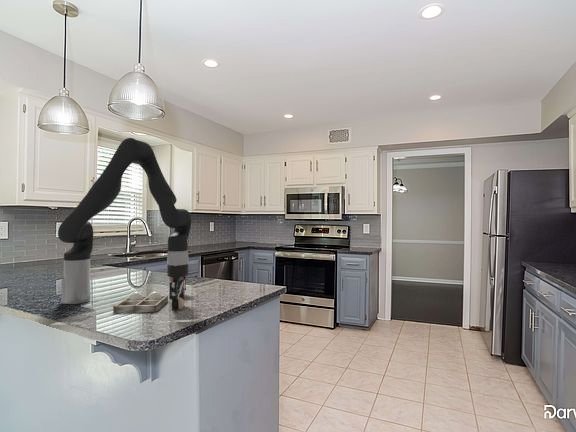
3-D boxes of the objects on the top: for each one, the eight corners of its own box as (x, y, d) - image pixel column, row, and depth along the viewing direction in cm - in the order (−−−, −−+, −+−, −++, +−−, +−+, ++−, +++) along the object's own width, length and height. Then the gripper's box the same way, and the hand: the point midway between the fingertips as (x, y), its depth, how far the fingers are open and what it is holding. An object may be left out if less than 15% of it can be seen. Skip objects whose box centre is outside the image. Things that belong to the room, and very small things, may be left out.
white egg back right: (146, 305, 129) (146, 293, 129) (150, 302, 134) (150, 290, 134) (159, 305, 129) (159, 292, 129) (163, 302, 134) (162, 289, 134)
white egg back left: (127, 306, 128) (127, 293, 128) (132, 302, 133) (132, 290, 133) (140, 305, 129) (140, 293, 129) (144, 302, 133) (144, 290, 133)
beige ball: (169, 312, 123) (169, 299, 123) (173, 308, 127) (173, 296, 127) (183, 312, 123) (183, 298, 123) (186, 308, 128) (186, 295, 128)
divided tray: (113, 314, 120) (113, 306, 120) (129, 303, 135) (129, 296, 134) (156, 313, 121) (156, 305, 121) (167, 303, 136) (167, 295, 136)
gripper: (172, 260, 132) (172, 302, 132) (161, 266, 118) (162, 312, 118) (192, 260, 132) (192, 301, 133) (183, 265, 118) (184, 312, 118)
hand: (178, 306), depth 125 cm, fingers open, 8 cm apart
